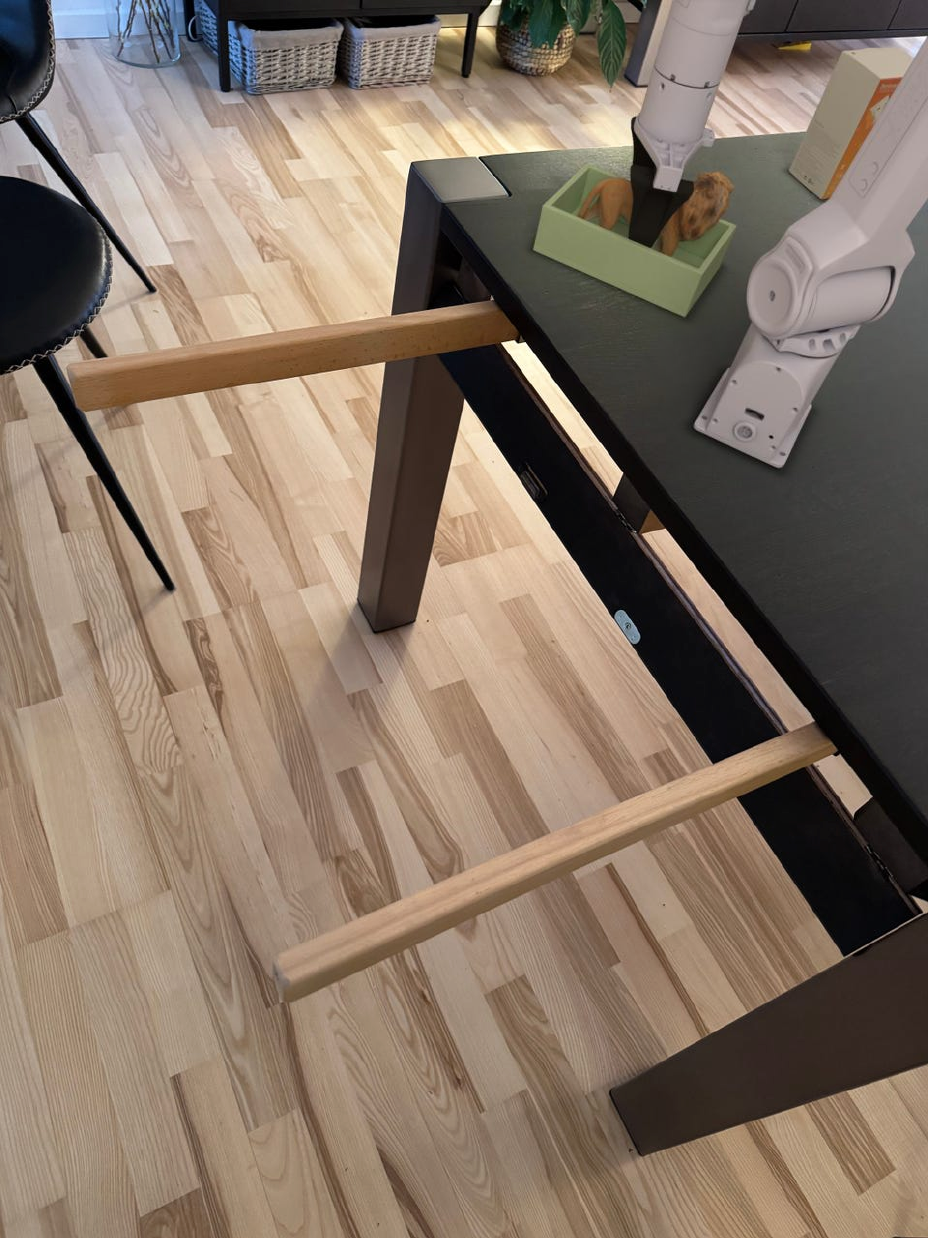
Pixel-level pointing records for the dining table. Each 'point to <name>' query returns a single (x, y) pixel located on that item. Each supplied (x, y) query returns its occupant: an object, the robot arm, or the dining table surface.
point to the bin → (627, 249)
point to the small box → (847, 115)
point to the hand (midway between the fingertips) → (638, 224)
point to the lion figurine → (683, 223)
